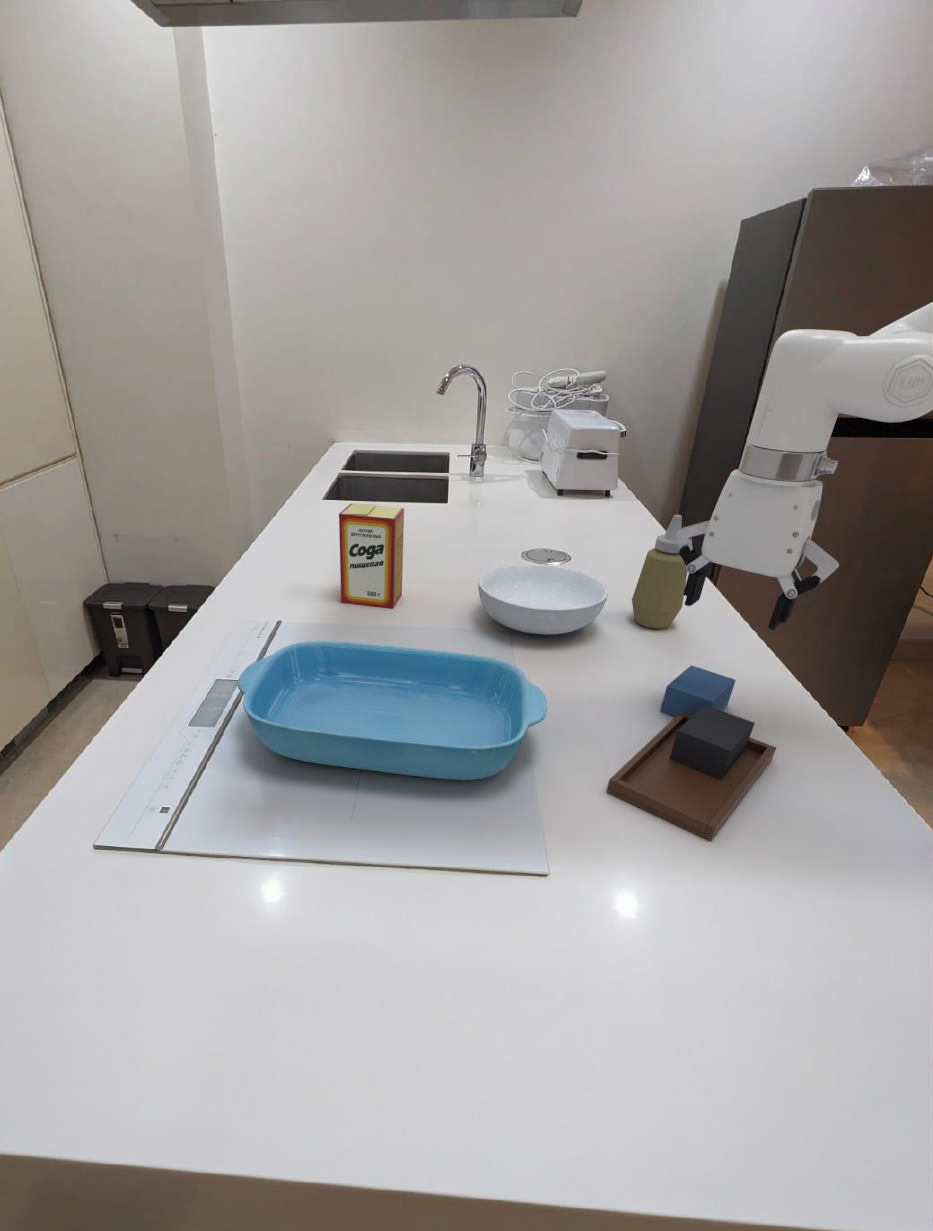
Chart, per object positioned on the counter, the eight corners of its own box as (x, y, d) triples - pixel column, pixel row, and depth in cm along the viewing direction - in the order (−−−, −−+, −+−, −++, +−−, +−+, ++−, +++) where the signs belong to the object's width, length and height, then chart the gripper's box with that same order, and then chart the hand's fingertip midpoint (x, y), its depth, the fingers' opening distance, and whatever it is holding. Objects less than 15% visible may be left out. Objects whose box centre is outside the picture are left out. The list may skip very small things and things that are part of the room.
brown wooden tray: (772, 759, 81) (776, 747, 80) (710, 841, 68) (715, 828, 67) (677, 723, 87) (681, 711, 86) (606, 792, 75) (609, 779, 74)
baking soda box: (401, 594, 122) (404, 506, 114) (393, 608, 117) (394, 516, 108) (351, 589, 124) (350, 501, 116) (341, 602, 119) (338, 511, 110)
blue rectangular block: (727, 705, 91) (735, 679, 89) (704, 728, 86) (713, 702, 84) (684, 690, 94) (691, 664, 92) (659, 711, 89) (666, 685, 87)
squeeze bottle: (628, 629, 111) (652, 520, 102) (626, 610, 118) (648, 507, 108) (679, 635, 110) (709, 525, 100) (674, 615, 116) (701, 511, 107)
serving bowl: (621, 620, 114) (629, 582, 111) (563, 663, 101) (571, 621, 97) (515, 589, 125) (519, 553, 122) (450, 625, 112) (453, 585, 108)
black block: (744, 750, 81) (754, 722, 79) (720, 780, 76) (730, 751, 74) (695, 731, 84) (704, 704, 82) (669, 758, 79) (677, 730, 77)
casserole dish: (537, 702, 91) (544, 655, 87) (542, 808, 72) (552, 753, 68) (273, 678, 95) (269, 632, 91) (214, 771, 76) (206, 718, 73)
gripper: (879, 472, 69) (819, 626, 78) (709, 447, 78) (673, 586, 87) (864, 485, 64) (801, 646, 73) (684, 456, 73) (649, 602, 83)
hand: (731, 614), depth 80 cm, fingers open, 9 cm apart
